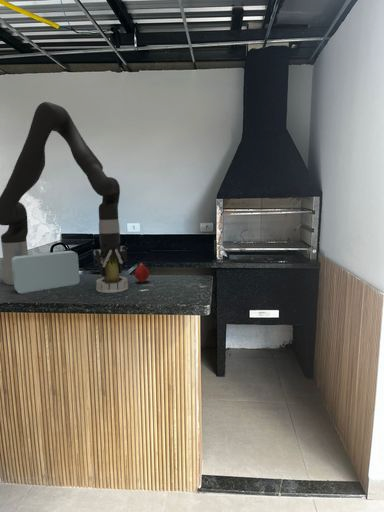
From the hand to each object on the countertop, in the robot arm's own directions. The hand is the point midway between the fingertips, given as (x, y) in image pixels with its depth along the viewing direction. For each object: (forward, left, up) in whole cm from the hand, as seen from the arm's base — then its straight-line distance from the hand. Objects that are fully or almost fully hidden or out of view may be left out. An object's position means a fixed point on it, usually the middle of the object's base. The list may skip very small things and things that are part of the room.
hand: (111, 274), depth 130 cm
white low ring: (0, 0, -6) cm, 6 cm away
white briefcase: (-26, -3, -6) cm, 27 cm away
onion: (+8, +11, -6) cm, 15 cm away
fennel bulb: (0, 0, -4) cm, 4 cm away
